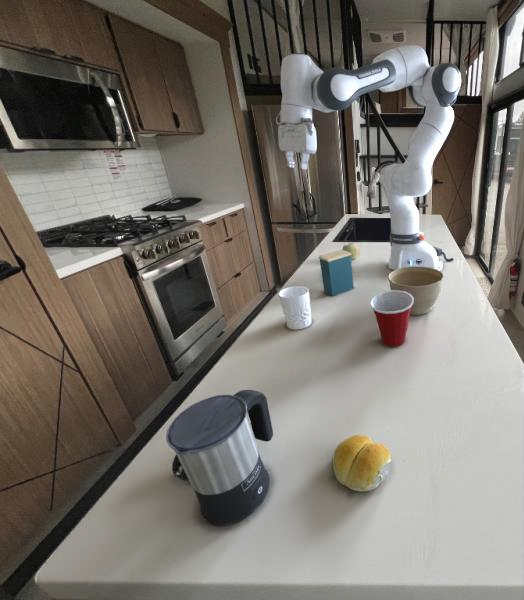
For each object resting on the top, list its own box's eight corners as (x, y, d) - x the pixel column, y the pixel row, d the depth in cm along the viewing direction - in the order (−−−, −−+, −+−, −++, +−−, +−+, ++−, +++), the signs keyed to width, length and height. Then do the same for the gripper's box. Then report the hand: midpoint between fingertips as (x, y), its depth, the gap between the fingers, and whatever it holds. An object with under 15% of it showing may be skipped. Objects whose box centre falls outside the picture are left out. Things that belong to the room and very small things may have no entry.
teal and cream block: (323, 292, 112) (318, 256, 106) (345, 284, 118) (341, 249, 112) (332, 296, 108) (327, 259, 103) (354, 288, 114) (351, 252, 109)
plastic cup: (363, 343, 82) (359, 301, 77) (389, 326, 90) (388, 286, 85) (396, 358, 76) (395, 314, 71) (422, 338, 84) (422, 296, 79)
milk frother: (258, 525, 43) (231, 447, 37) (135, 536, 42) (85, 458, 36) (284, 438, 56) (267, 369, 50) (190, 445, 55) (160, 376, 49)
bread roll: (355, 436, 56) (353, 419, 54) (398, 461, 52) (398, 443, 50) (321, 473, 50) (317, 455, 48) (366, 504, 45) (364, 486, 44)
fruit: (358, 261, 140) (357, 243, 137) (342, 261, 140) (340, 243, 137) (361, 255, 147) (359, 238, 144) (344, 256, 147) (343, 238, 144)
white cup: (319, 319, 94) (314, 287, 90) (303, 332, 88) (297, 299, 83) (296, 315, 97) (290, 284, 92) (279, 328, 90) (272, 295, 86)
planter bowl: (419, 292, 109) (419, 262, 105) (453, 310, 98) (455, 276, 93) (379, 306, 101) (377, 273, 96) (411, 327, 89) (410, 291, 84)
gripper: (322, 119, 91) (321, 171, 96) (293, 121, 106) (293, 167, 111) (301, 114, 88) (301, 169, 93) (274, 118, 102) (275, 165, 107)
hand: (297, 168), depth 102 cm, fingers open, 8 cm apart
